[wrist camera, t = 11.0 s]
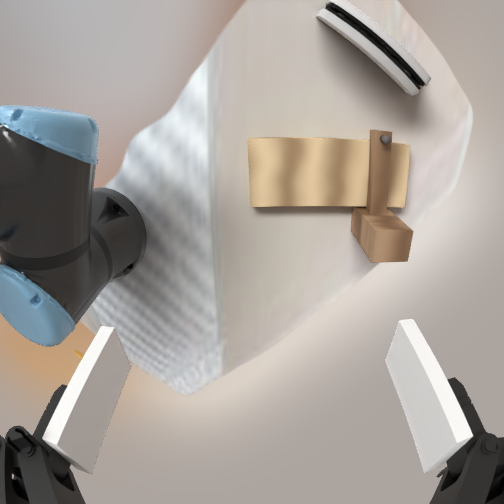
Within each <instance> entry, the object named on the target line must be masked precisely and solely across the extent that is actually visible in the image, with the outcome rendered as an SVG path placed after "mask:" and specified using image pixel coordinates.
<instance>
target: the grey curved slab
mask: <svg viewBox="0 0 504 504" xmlns="http://www.w3.org/2000/svg"><path fill="white" fill-rule="evenodd" d="M316 17H317V18H319V19H320V20H321V21H323V22H324V23H326V24H327V25H329V26H330V27H331V28H333V29H334V30H335V31H337V32H338V33H339V34H341V35H342V36H343V37H345V38H346V39H347V40H349V41H350V42H351V43H352V44H354V45H355V46H356V47H357V48H358V49H360V50H361V51H362V52H363V53H364V54H366V55H367V56H368V57H369V58H370V59H371V60H372V61H374V62H375V63H376V64H377V65H378V66H379V67H380V68H381V69H382V70H383V71H385V72H386V73H387V74H388V75H389V76H390V77H391V78H392V79H393V80H394V81H395V82H396V83H397V84H398V85H399V86H400V87H401V88H402V89H403V90H404V91H405V92H406V93H408V94H409V95H411V96H414V95H416V94H418V93H419V92H420V91H419V89H421V88H420V87H419V85H420V86H424V85H426V86H427V84H428V83H429V81H430V80H431V77H430V76H429V75H428V73H427V72H426V71H425V70H424V69H423V67H422V66H421V65H420V64H419V63H418V62H417V60H416V59H415V58H414V57H413V56H412V55H411V54H410V53H409V52H408V51H407V50H406V49H405V48H404V47H403V46H402V45H401V44H400V43H399V42H398V41H397V40H396V39H395V38H394V37H393V36H392V35H390V34H389V33H388V32H387V31H386V30H385V29H383V28H382V27H381V26H380V25H379V24H377V23H376V22H375V21H374V20H372V19H371V18H370V17H368V16H367V15H366V14H364V13H363V12H362V11H360V10H359V9H357V8H356V7H355V6H353V5H352V4H350V3H349V2H347V1H345V0H330V1H329V2H327V3H326V8H325V9H324V8H323V9H321V10H319V12H318V14H317V16H316ZM366 34H367V35H366ZM370 37H371V38H372V39H373V40H372V39H371V38H370ZM376 42H377V43H378V44H379V45H380V46H379V45H378V44H377V43H376Z"/></svg>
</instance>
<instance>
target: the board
mask: <svg viewBox="0 0 504 504" xmlns="http://www.w3.org/2000/svg"><path fill="white" fill-rule="evenodd" d="M369 154H370V140H356V139H338V138H304V137H280V138H248V160H249V181H250V202H251V207H271V206H366V204H367V192H368V176H369ZM409 154H410V145H406V144H401V143H392V148H391V168H390V182H389V193H388V203H387V207H404V208H405V201H406V192H407V181H408V170H409Z"/></svg>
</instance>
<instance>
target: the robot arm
mask: <svg viewBox="0 0 504 504" xmlns="http://www.w3.org/2000/svg"><path fill="white" fill-rule="evenodd" d="M98 130H99V129H98V125H97V123H96V122H95V120H94V119H92V118H91V117H89V116H87V115H84V114H80V113H75V112H70V111H64V110H59V109H52V108H44V107H35V106H22V105H19V106H18V105H15V106H14V105H3V106H0V258H1V261H0V313H1V314H2V315H3V317H4V318H5V319H6V320H7V321H8V322H9V323H10V325H11V326H12V327H13V328H14V329H15V330H17V331H18V332H19V333H20V334H22V335H23V336H24V337H26V338H27V339H29V340H30V341H32V342H34V343H37V344H39V345H42V346H48V347H49V346H50V347H51V346H55V345H58V344H60V343H61V342H62V341H63V340H64V339H65V338H66V337H67V336H68V335H69V334H70V333H71V332H72V331H73V330H74V328H75V325H76V324H77V323H78V321H79V320H80V319H81V317H82V316H83V315H84V313H85V312H86V311H87V309H88V308H89V307H90V305H91V304H92V303H93V301H94V300H95V299H96V297H97V296H98V295H99V294H100V292H101V291H102V290H103V288H104V287H105V286H106V285H107V284H108V283H110V282H112V281H115V280H117V279H119V278H121V277H123V276H125V275H127V274H129V273H130V272H131V271H132V270H133V269H134V268H135V267H136V265H137V264H138V263H139V262H140V260H141V259H142V257H143V255H144V252H145V248H146V231H145V226H144V223H143V220H142V218H141V216H140V214H139V212H138V211H137V209H136V208H135V206H134V205H133V204H132V203H131V202H130V201H129V200H128V199H127V198H126V197H125V196H123V195H122V194H120V193H118V192H116V191H114V190H111V189H107V188H95V189H93V187H94V177H95V169H96V164H98V159H97V158H96V155H97V144H98V135H99V131H98ZM385 362H386V365H387V367H388V370H389V372H390V375H391V377H392V380H393V383H394V385H395V388H396V390H397V393H398V396H399V398H400V401H401V404H402V407H403V409H404V412H405V415H406V418H407V421H408V424H409V427H410V430H411V433H412V435H413V438H414V442H415V445H416V448H417V451H418V454H419V458H420V461H421V464H422V468H423V471H424V473H425V472H428V471H431V470H433V469H436V468H438V467H440V466H441V465H442V464H444V463H445V462H447V467H446V468H445V469H443V470H442V471H441V472H440V473H439V474H438V475H437V477H440V476H441V475H442V474H443V476H442V478H441V480H440V483H439V485H438V487H437V489H436V491H435V494H434V496H433V498H432V500H431V502H430V504H504V437H502V438H497V437H496V436H495V435H493V434H491V433H487V432H486V431H485V429H484V427H483V425H482V423H481V421H480V419H479V417H478V414H477V412H476V410H475V408H474V406H473V404H471V400H470V398H469V396H467V395H468V394H467V392H466V390H465V388H464V386H463V385H462V384H461V383H460V382H459V381H458V380H457V379H456V378H455V377H454V378H451V379H448V380H447V379H446V377H445V375H444V373H443V371H442V369H441V367H440V366H439V364H438V362H437V360H436V358H435V356H434V355H433V353H432V351H431V349H430V348H429V346H428V344H427V342H426V340H425V339H424V337H423V335H422V334H421V332H420V330H419V328H418V327H417V325H416V323H415V322H414V320H413V319H407V320H400V321H399V322H398V325H397V328H396V331H395V334H394V337H393V340H392V343H391V346H390V349H389V352H388V355H387V357H386V360H385ZM130 369H131V364H130V362H129V360H128V357H127V355H126V353H125V351H124V349H123V346H122V344H121V342H120V339H119V337H118V335H117V332H116V330H115V327H105V326H101V328H100V329H99V331H98V333H97V334H96V336H95V338H94V340H93V341H92V343H91V345H90V347H89V348H88V350H87V352H86V353H85V355H84V357H83V359H82V360H81V362H80V364H79V366H78V368H77V370H76V371H75V373H74V375H73V377H72V379H71V380H70V382H69V384H68V386H66V385H61V386H60V387H59V388H58V389H57V390H56V391H55V392H54V394H53V396H52V398H51V400H50V403H48V405H47V407H46V410H45V411H44V413H43V416H42V417H41V419H40V421H39V424H38V426H37V428H36V430H35V432H34V434H33V435H31V434H30V433H29V432H28V431H27V430H26V429H24V427H21V426H14V427H12V428H11V429H9V431H8V432H7V434H6V437H5V439H4V438H3V437H2V436H1V435H0V504H85V501H84V499H83V497H82V495H81V493H80V490H79V488H78V486H77V483H76V481H75V478H74V475H73V473H72V471H71V469H70V468H69V467H70V465H71V464H72V465H73V466H74V467H75V468H77V469H79V470H81V471H84V472H87V473H90V474H92V473H93V469H94V466H95V463H96V460H97V457H98V454H99V451H100V448H101V445H102V442H103V439H104V437H105V433H106V431H107V428H108V426H109V423H110V420H111V417H112V415H113V412H114V409H115V407H116V404H117V401H118V399H119V396H120V394H121V391H122V388H123V386H124V383H125V381H126V379H127V376H128V373H129V371H130ZM12 474H14V479H12Z"/></svg>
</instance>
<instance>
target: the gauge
mask: <svg viewBox="0 0 504 504" xmlns="http://www.w3.org/2000/svg"><path fill="white" fill-rule="evenodd" d="M391 148H392V132H388V131H379V130H370V154H369V176H368V192H367V204H366V206H353V208H352V221H351V232H352V233H353V235H354V236H355V238H356V239H357V241H358V242H359V244H360V245H361V247H362V248H363V250H364V252H365V253H366V255H367V256H368V258H369V259H370V261H371V262H372V263H374V262H405V261H408V257H409V251H410V247H411V241H412V236H413V230H411V229H410V228H409V227H408V226H407V225H406V224H405V223H404V222H403V221H401V220H400V219H399V218H398V217H397V216H396V215H395V214H394V213H392V212H391V211H390V210H389V209H388V208H387V203H388V193H389V182H390V168H391Z"/></svg>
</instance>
